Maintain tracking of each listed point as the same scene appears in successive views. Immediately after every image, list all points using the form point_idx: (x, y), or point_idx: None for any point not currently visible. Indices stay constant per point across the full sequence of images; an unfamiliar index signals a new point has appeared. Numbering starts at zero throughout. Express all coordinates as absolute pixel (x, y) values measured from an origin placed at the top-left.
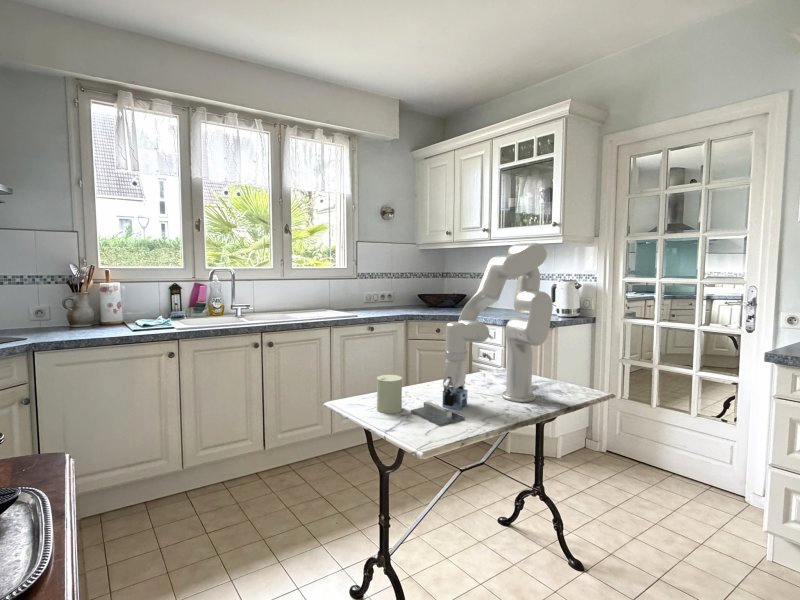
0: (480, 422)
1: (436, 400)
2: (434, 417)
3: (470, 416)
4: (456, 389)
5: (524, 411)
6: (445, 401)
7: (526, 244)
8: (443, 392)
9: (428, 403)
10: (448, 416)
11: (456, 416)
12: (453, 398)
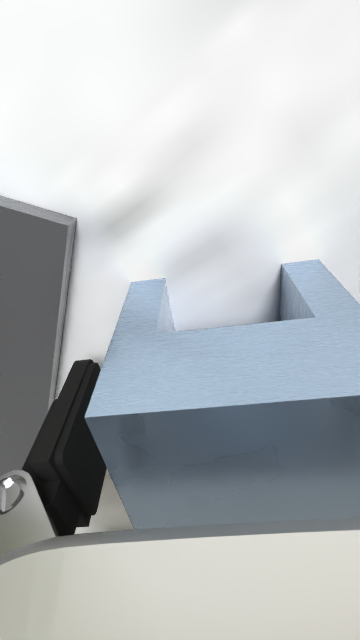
0: (79, 531)
1: (313, 55)
2: None
3: (113, 486)
4: (313, 498)
5: None
6: (68, 390)
7: None
8: (92, 408)
9: None
10: None
11: (4, 473)
12: (98, 486)
